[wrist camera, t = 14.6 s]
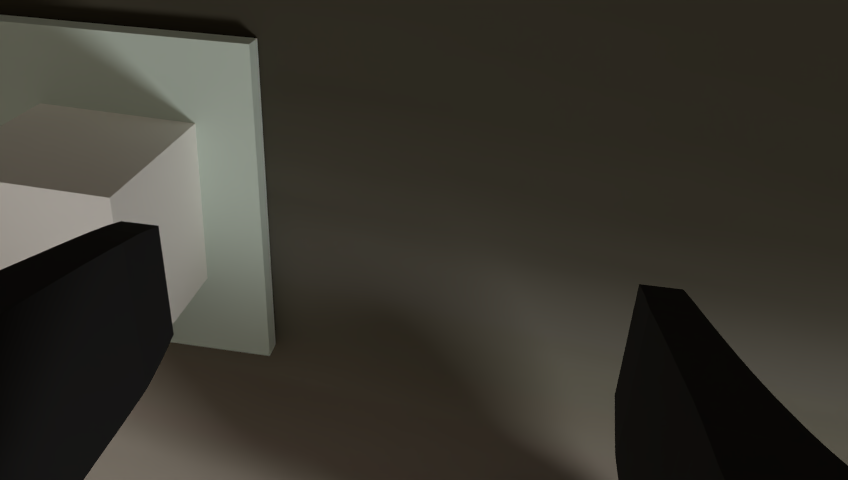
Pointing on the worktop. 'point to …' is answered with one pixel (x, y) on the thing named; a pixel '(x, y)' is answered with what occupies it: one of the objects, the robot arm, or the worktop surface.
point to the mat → (178, 101)
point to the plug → (102, 186)
